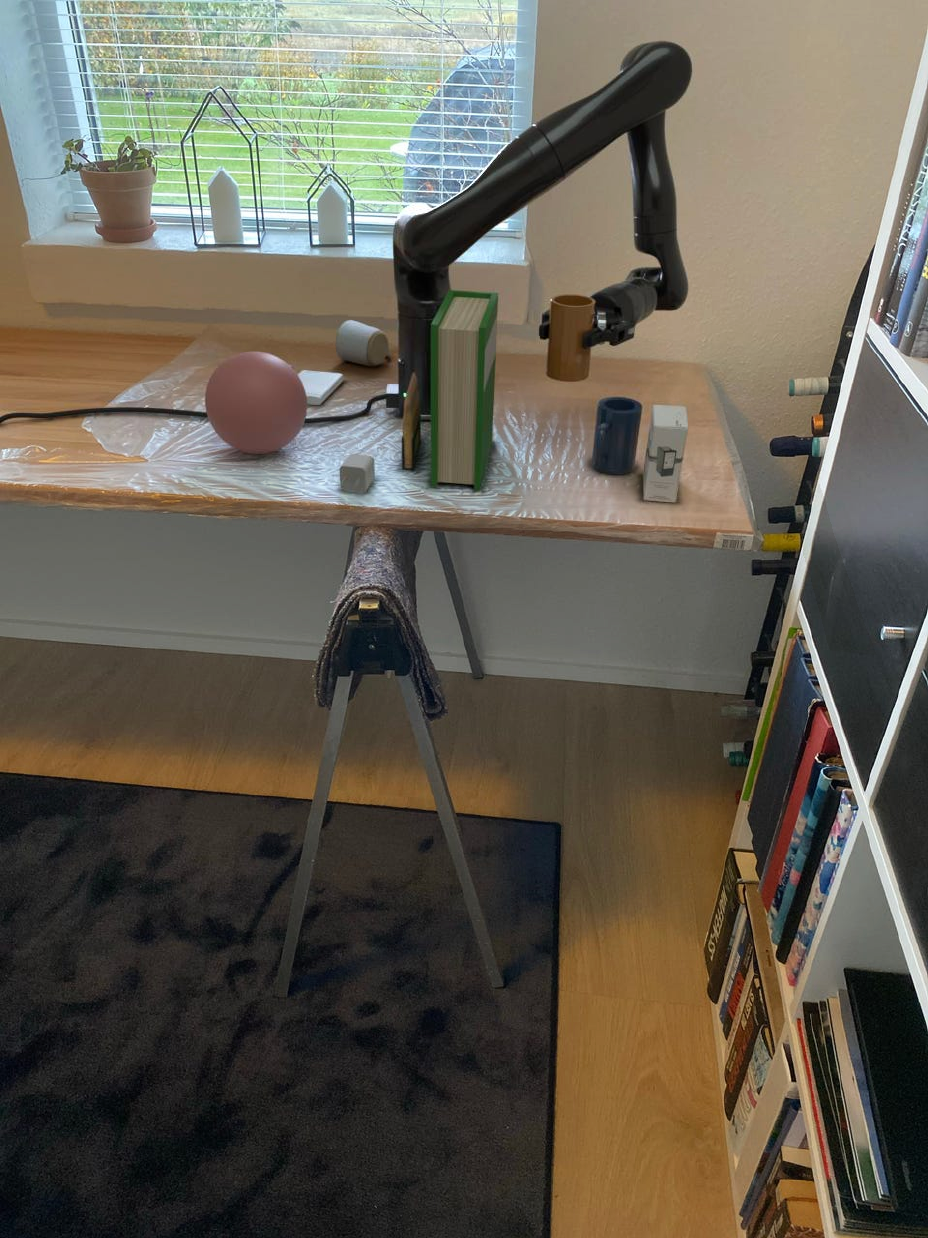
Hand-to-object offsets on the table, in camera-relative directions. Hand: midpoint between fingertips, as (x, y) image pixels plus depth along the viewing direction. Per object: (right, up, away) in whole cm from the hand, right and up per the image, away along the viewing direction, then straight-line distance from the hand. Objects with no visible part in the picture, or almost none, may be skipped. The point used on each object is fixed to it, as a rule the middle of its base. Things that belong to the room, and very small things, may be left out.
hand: (563, 337), depth 136 cm
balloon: (-46, -13, +14) cm, 50 cm away
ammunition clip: (-23, -15, +12) cm, 30 cm away
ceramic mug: (-34, +10, +49) cm, 60 cm away
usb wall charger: (-30, -22, +2) cm, 38 cm away
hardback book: (-15, -17, +10) cm, 24 cm away
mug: (+8, -18, +9) cm, 21 cm away
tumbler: (+1, -4, +5) cm, 7 cm away
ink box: (+15, -22, +4) cm, 27 cm away
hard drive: (-42, 0, +35) cm, 55 cm away
